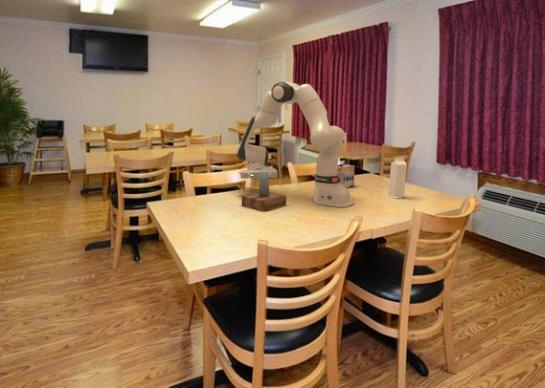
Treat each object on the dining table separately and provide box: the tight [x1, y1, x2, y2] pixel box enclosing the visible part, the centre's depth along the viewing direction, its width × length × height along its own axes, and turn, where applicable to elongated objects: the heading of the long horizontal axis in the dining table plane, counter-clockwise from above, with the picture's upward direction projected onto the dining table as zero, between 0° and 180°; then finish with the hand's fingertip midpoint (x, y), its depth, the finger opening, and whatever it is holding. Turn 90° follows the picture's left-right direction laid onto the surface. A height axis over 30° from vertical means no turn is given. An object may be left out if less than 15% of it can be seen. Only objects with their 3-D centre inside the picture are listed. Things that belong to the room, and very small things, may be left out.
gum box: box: [337, 163, 356, 188], centre depth 237 cm, size 24×8×14 cm, turn 123°
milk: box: [388, 157, 408, 197], centre depth 213 cm, size 6×6×22 cm
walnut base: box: [241, 191, 287, 213], centre depth 196 cm, size 16×16×5 cm
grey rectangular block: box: [258, 171, 270, 197], centre depth 194 cm, size 5×5×12 cm
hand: (260, 176), depth 205 cm, fingers open, 8 cm apart
